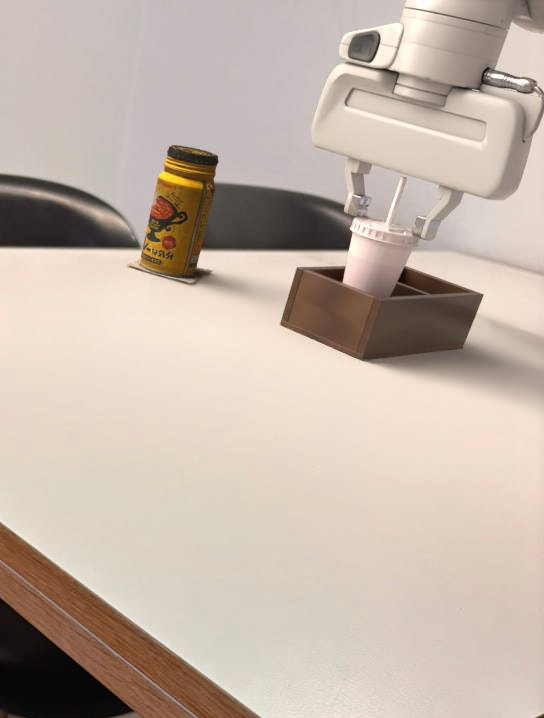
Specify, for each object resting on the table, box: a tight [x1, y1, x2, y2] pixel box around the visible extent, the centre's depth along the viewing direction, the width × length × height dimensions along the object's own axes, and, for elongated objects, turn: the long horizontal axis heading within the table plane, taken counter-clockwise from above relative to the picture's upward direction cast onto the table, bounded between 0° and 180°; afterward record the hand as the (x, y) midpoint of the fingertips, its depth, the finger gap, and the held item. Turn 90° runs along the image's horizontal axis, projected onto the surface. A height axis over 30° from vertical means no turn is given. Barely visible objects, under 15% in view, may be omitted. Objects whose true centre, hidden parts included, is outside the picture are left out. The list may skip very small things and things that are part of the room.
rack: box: [279, 265, 485, 361], centre depth 105 cm, size 10×19×6 cm, turn 132°
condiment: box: [126, 144, 219, 284], centre depth 111 cm, size 7×8×12 cm
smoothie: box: [343, 176, 421, 298], centre depth 99 cm, size 6×6×14 cm
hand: (387, 226), depth 98 cm, fingers closed on smoothie, 6 cm apart
